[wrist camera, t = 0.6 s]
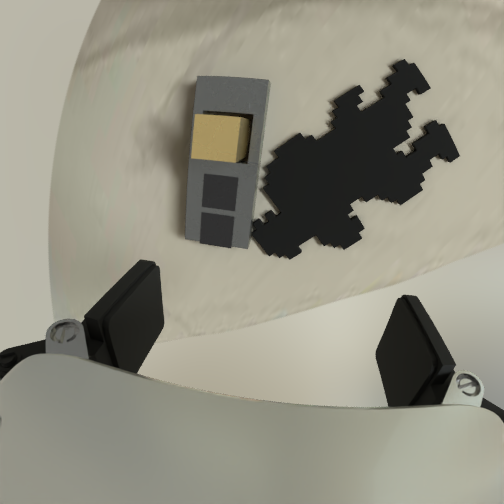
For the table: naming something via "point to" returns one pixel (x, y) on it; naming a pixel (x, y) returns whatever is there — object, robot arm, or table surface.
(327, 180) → the black pixelated cutout
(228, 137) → the block
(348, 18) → the table surface
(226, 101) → the rail
